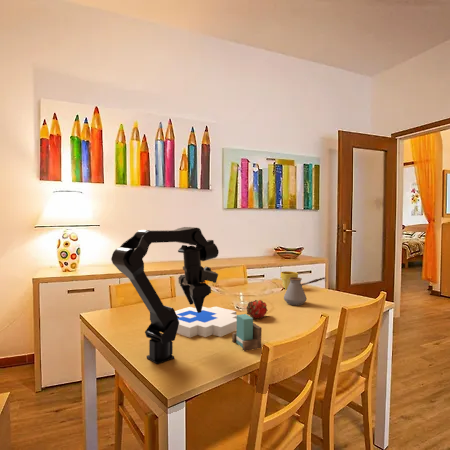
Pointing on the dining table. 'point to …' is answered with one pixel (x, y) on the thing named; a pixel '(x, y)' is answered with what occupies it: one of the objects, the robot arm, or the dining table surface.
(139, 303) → the dining table surface
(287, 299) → the coffee pot
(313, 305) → the dining table surface
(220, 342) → the dining table surface
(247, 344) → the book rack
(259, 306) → the dragon fruit
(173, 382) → the dining table surface
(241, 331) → the book
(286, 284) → the plant pot
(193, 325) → the stepped white slab
